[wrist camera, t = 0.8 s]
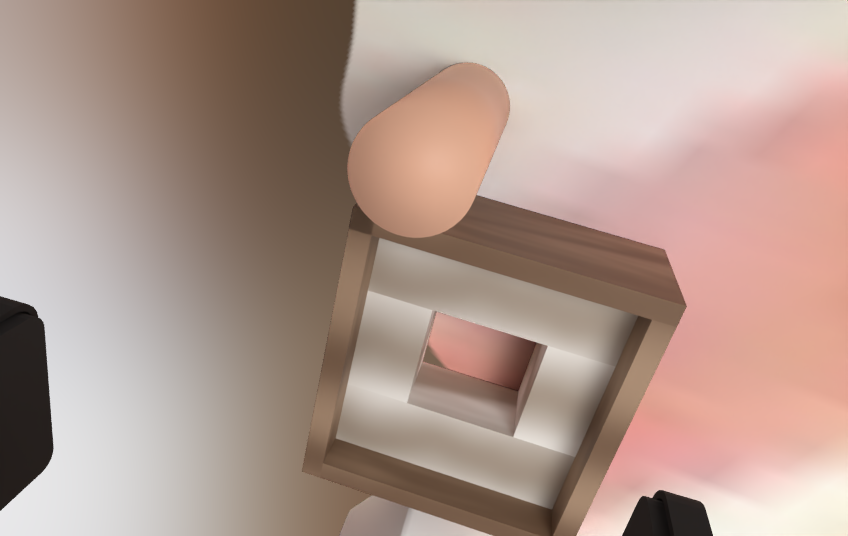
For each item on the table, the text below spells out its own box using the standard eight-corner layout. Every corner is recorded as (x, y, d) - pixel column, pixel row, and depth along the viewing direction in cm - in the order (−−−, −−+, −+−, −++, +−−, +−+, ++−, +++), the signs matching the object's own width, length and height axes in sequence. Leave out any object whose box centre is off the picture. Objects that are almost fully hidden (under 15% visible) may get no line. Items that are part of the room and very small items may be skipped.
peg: (436, 52, 29) (360, 90, 18) (520, 75, 28) (494, 128, 18) (416, 136, 31) (337, 217, 20) (496, 159, 30) (459, 253, 19)
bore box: (388, 169, 32) (352, 206, 26) (664, 250, 30) (686, 306, 25) (338, 403, 38) (301, 471, 33) (564, 476, 37) (564, 559, 31)
